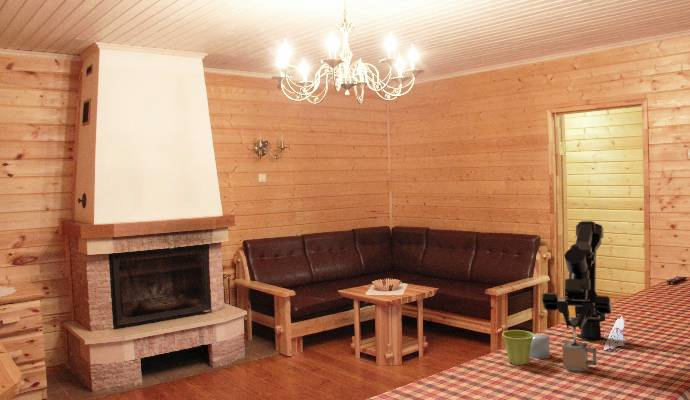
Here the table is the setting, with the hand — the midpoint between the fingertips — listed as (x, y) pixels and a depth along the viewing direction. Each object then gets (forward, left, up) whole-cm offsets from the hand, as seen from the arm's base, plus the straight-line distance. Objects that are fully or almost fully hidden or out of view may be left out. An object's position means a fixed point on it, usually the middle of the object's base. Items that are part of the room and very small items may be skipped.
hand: (573, 328), depth 170 cm
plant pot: (-12, -11, -12) cm, 20 cm away
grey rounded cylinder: (-15, -2, -12) cm, 19 cm away
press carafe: (0, +2, -12) cm, 12 cm away
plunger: (-1, +1, -7) cm, 7 cm away
